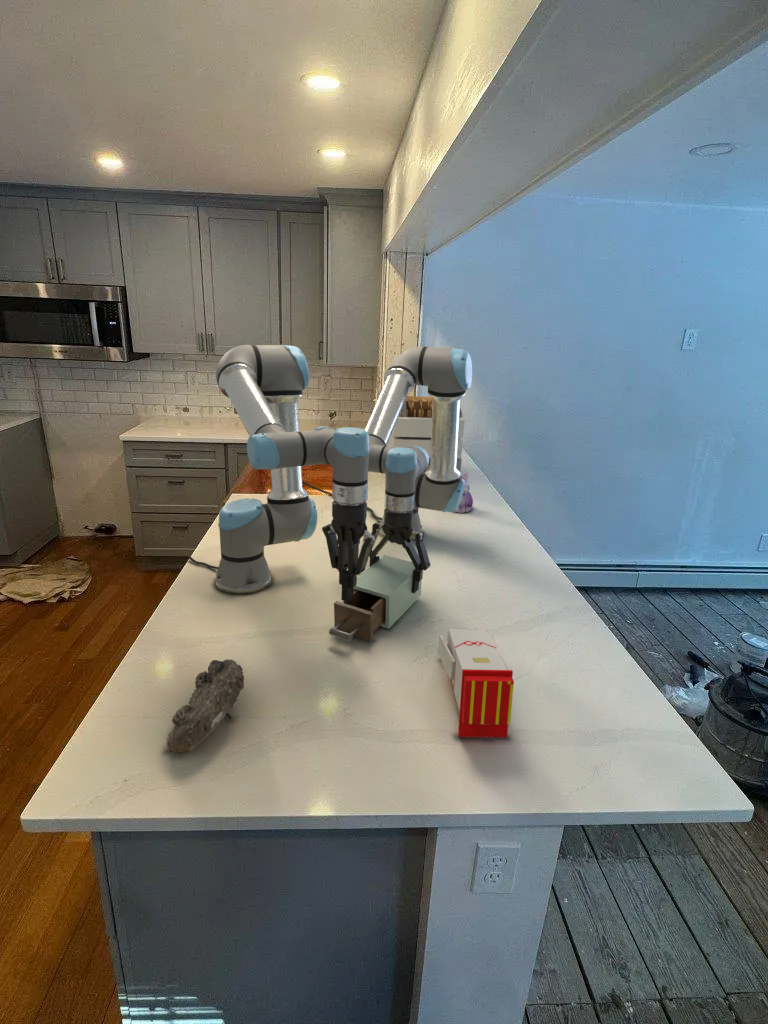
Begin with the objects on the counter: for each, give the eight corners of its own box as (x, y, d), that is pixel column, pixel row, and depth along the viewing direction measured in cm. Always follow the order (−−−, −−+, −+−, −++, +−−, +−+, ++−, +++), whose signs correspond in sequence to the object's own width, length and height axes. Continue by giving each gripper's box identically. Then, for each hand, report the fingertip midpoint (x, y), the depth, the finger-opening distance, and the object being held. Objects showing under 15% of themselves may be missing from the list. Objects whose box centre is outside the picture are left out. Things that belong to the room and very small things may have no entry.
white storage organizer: (382, 463, 289) (386, 382, 275) (445, 464, 293) (451, 384, 279) (390, 482, 257) (394, 392, 243) (460, 483, 261) (468, 394, 247)
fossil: (192, 660, 117) (244, 628, 112) (224, 691, 120) (276, 661, 115) (142, 746, 98) (202, 712, 93) (182, 779, 101) (242, 748, 96)
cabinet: (388, 629, 140) (389, 595, 137) (349, 616, 145) (349, 583, 142) (420, 595, 155) (422, 564, 152) (384, 584, 160) (384, 554, 157)
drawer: (357, 655, 129) (357, 627, 126) (320, 641, 134) (319, 614, 131) (403, 607, 148) (404, 582, 145) (369, 597, 152) (369, 572, 149)
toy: (488, 613, 130) (523, 677, 101) (484, 667, 133) (517, 744, 104) (435, 612, 130) (455, 676, 101) (432, 666, 133) (451, 743, 103)
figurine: (459, 514, 221) (463, 477, 216) (445, 506, 229) (448, 470, 224) (479, 511, 225) (483, 475, 220) (464, 503, 234) (467, 468, 228)
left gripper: (314, 499, 122) (314, 597, 130) (367, 511, 116) (363, 613, 124) (333, 491, 128) (332, 584, 136) (384, 501, 122) (380, 599, 130)
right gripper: (351, 504, 147) (349, 579, 155) (435, 522, 137) (429, 602, 144) (366, 496, 153) (363, 569, 161) (447, 514, 143) (440, 590, 150)
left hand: (347, 598), depth 130 cm, fingers closed
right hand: (394, 585), depth 153 cm, fingers closed on cabinet, 11 cm apart
